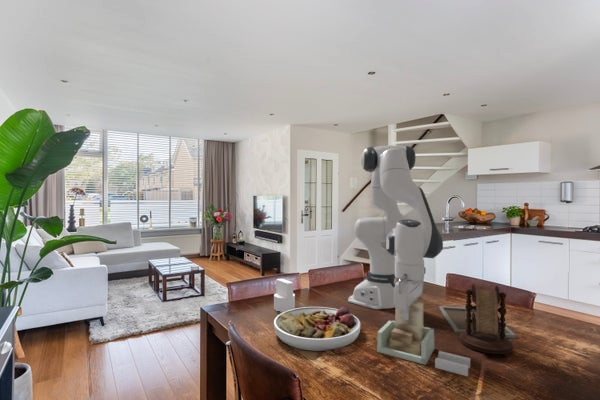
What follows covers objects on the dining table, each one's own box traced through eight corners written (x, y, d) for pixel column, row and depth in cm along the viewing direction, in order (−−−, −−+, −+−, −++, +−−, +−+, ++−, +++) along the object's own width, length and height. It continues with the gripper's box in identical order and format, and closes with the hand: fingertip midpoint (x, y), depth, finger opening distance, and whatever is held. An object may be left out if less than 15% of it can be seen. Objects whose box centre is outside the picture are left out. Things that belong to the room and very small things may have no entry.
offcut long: (389, 348, 100) (389, 339, 100) (392, 345, 103) (392, 335, 103) (419, 356, 96) (419, 346, 96) (422, 352, 98) (422, 342, 98)
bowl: (304, 365, 93) (304, 337, 93) (259, 329, 118) (259, 307, 118) (379, 341, 109) (379, 317, 109) (325, 314, 134) (325, 295, 134)
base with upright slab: (269, 308, 141) (270, 280, 141) (286, 304, 146) (286, 277, 146) (281, 313, 134) (281, 284, 134) (299, 309, 139) (299, 281, 139)
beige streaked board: (395, 344, 104) (395, 300, 103) (397, 341, 106) (397, 298, 106) (421, 350, 99) (421, 305, 99) (423, 347, 101) (423, 302, 101)
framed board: (456, 330, 114) (437, 303, 144) (456, 335, 114) (437, 307, 144) (516, 335, 110) (485, 306, 140) (516, 340, 110) (485, 310, 140)
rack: (377, 355, 99) (377, 332, 98) (389, 340, 109) (389, 319, 109) (425, 368, 91) (425, 343, 91) (434, 351, 101) (434, 329, 101)
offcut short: (391, 339, 100) (391, 331, 100) (394, 336, 103) (394, 328, 103) (411, 344, 97) (411, 335, 97) (413, 340, 99) (413, 332, 99)
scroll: (462, 354, 99) (462, 288, 99) (457, 335, 113) (457, 277, 113) (518, 362, 94) (519, 293, 94) (506, 341, 108) (506, 281, 108)
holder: (435, 371, 89) (435, 359, 89) (439, 361, 94) (439, 350, 94) (467, 380, 85) (467, 367, 85) (470, 369, 90) (470, 358, 90)
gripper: (410, 279, 92) (410, 328, 92) (426, 267, 109) (426, 308, 109) (388, 276, 95) (388, 323, 95) (407, 265, 112) (407, 304, 113)
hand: (409, 315), depth 102 cm, fingers open, 6 cm apart
